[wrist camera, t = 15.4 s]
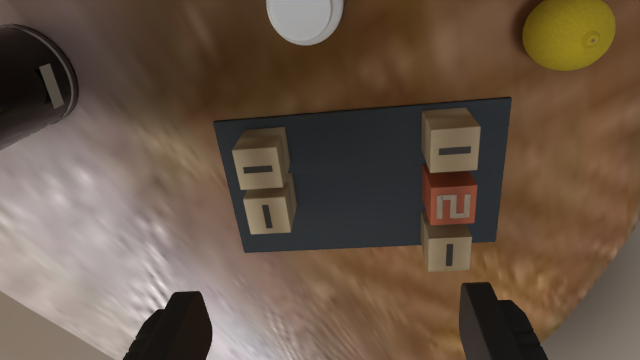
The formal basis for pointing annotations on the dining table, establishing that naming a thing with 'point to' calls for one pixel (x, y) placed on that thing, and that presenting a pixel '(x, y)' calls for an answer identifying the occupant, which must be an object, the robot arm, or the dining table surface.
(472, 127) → the letter block row
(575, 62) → the lemon
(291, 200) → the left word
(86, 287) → the dining table surface
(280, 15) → the pill bottle
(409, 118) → the word mat
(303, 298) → the dining table surface
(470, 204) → the red block
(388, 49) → the dining table surface
